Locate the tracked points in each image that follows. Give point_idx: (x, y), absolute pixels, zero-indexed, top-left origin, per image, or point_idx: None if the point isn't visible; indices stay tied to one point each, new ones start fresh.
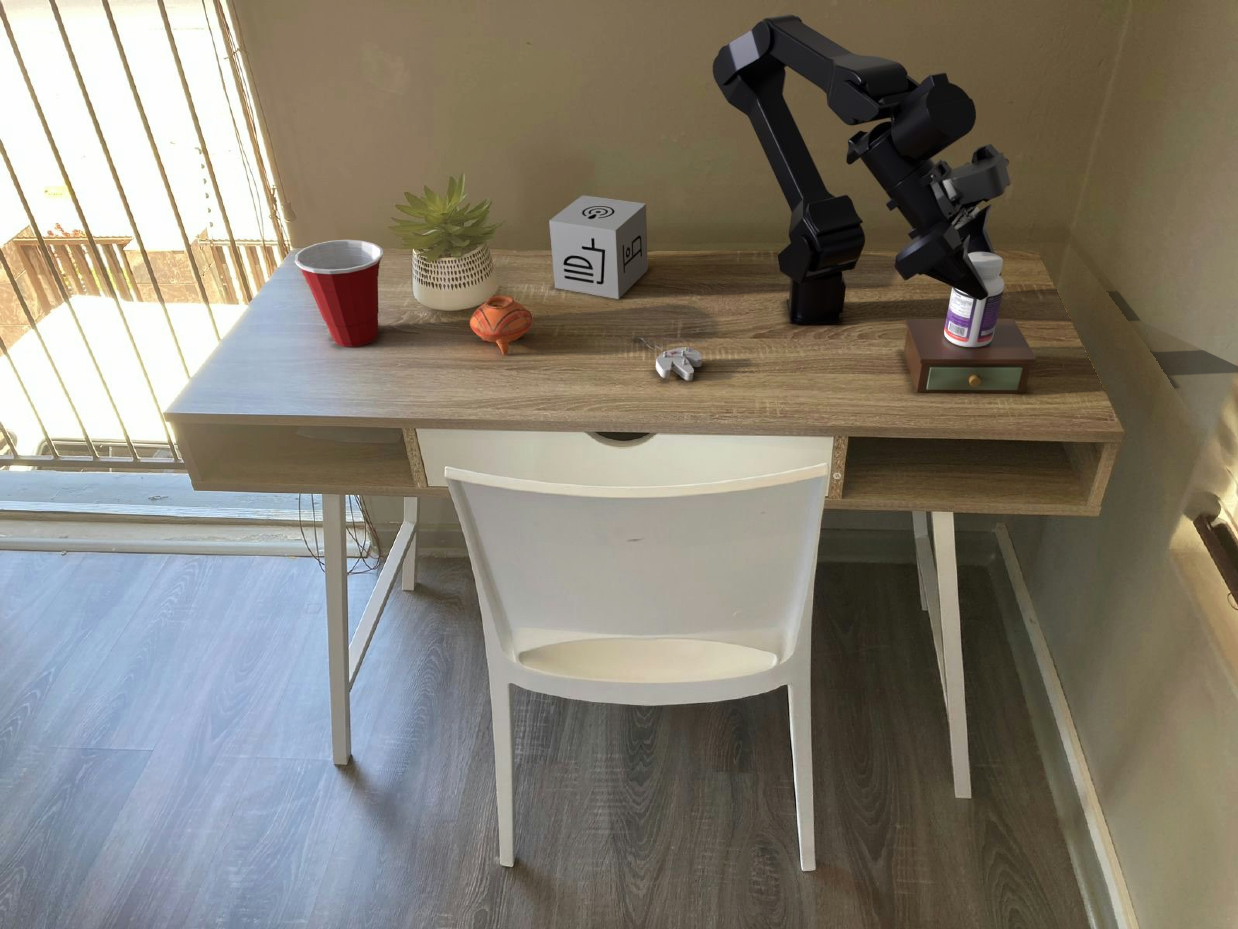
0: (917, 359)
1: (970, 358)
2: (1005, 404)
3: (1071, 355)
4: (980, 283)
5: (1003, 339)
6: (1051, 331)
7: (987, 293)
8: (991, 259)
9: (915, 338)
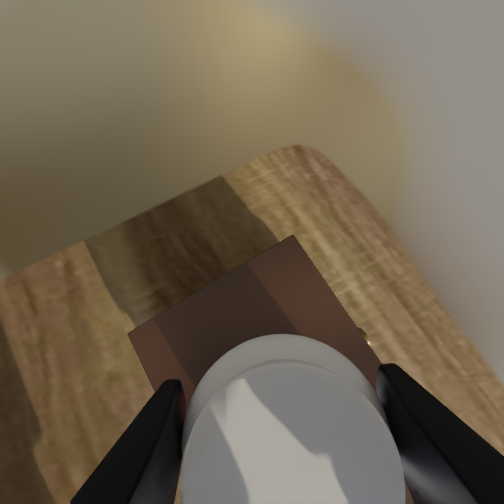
0: None
1: (376, 359)
2: (341, 279)
3: (117, 234)
4: (446, 409)
5: (243, 321)
6: (38, 288)
7: (395, 367)
8: (277, 433)
9: None
